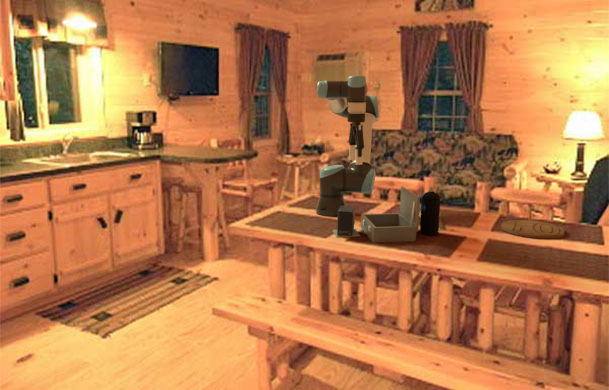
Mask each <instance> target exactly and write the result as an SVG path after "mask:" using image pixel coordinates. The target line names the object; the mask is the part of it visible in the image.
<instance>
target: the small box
mask: <svg viewBox="0 0 609 390" xmlns="http://www.w3.org/2000/svg"><path fill="white" fill-rule="evenodd" d="M355 213H356V212H355V206H350V205H346V206H340V208H339V210H338V216H337V229H336V230H337V235H347V236H352V233H353V230H354V229H355Z"/></svg>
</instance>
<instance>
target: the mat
mask: <svg viewBox="0 0 609 390" xmlns="http://www.w3.org/2000/svg"><path fill="white" fill-rule="evenodd" d="M332 233H333V235H334V236H335V237H336V238H351V237H353V238H354V237H361V234H360V233H359V232H358V231H357V229H356V228H354V230H353V233H352V236H347V235H337V229H332Z"/></svg>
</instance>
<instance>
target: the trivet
mask: <svg viewBox="0 0 609 390" xmlns="http://www.w3.org/2000/svg"><path fill="white" fill-rule="evenodd" d="M500 225H501V226H500V229H501V231H503V232H504V233H506V234H509V235H512V236H515V237H519V238H525V239H526V238H527V239H533V240H554V239H555V240H557V239H561V238H563V237H564V236H565V228H563V226H560V225H557V224H554V223H550V222H545V221H541V220H540V221H539V220H530V219H515V220H506V221H504V222H502V223H501V224H500Z"/></svg>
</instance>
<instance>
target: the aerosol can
mask: <svg viewBox="0 0 609 390" xmlns="http://www.w3.org/2000/svg"><path fill="white" fill-rule="evenodd" d="M434 188H435V187H434V186H430V185H429V187H428V191H426V192H423V194H421V195H420V199H421V200H420V202H421V203H420V218H419V230H418V233H419V234H421V235H422V236H430V237H431V236H432V237H433V236H434V237H435V236H437V235H440V229H439V228H440V213H441V212H440V211H441V198H442V196H440V194H439V193H438V192H435V191H434Z"/></svg>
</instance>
